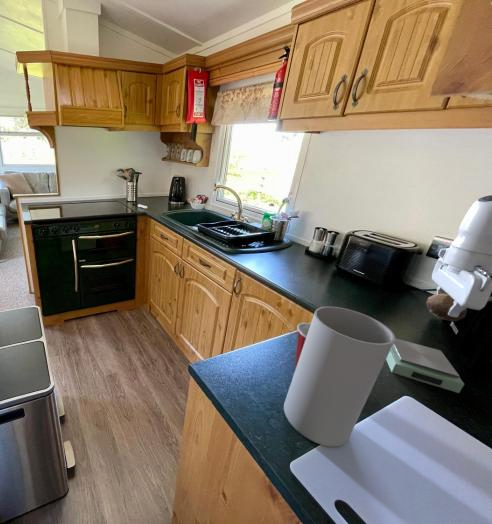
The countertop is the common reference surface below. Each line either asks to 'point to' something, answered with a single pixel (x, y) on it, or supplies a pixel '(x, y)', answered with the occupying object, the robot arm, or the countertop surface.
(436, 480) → the countertop surface
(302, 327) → the plastic cup
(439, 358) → the scale pan
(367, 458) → the countertop surface
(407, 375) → the scale base
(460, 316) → the brown potato
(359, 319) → the cylinder vase
